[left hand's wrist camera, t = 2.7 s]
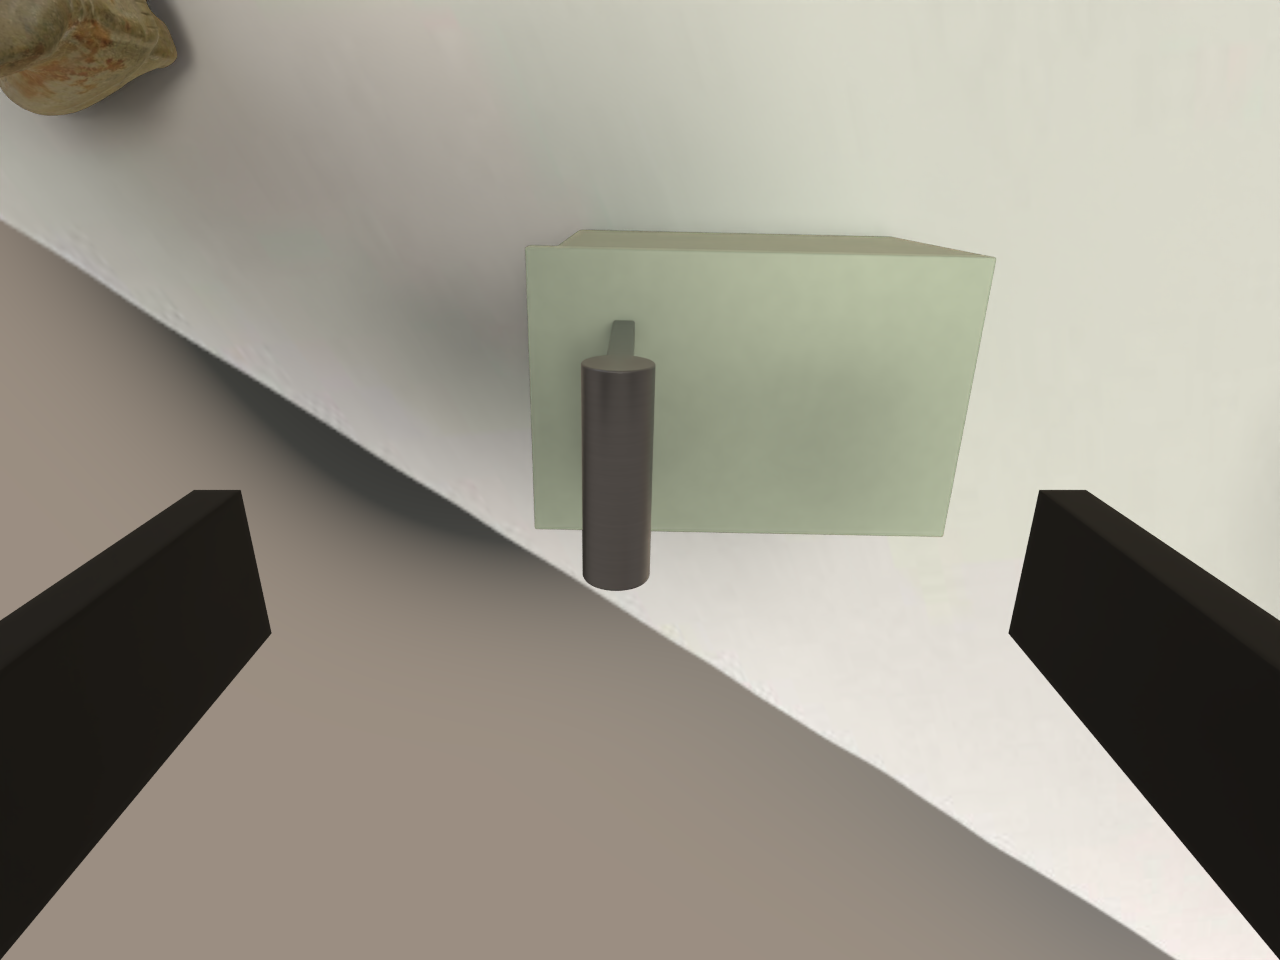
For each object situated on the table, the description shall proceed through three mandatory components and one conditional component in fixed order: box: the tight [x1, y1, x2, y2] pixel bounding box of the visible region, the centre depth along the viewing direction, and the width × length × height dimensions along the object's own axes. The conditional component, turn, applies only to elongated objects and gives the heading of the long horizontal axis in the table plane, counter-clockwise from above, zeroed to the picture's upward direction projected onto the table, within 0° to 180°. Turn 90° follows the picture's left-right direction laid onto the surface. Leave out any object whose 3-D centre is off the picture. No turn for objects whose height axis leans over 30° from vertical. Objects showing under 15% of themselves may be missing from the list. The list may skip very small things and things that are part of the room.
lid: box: [525, 245, 996, 591], centre depth 21 cm, size 15×10×8 cm, turn 89°
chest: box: [558, 230, 980, 255], centre depth 30 cm, size 14×10×9 cm
